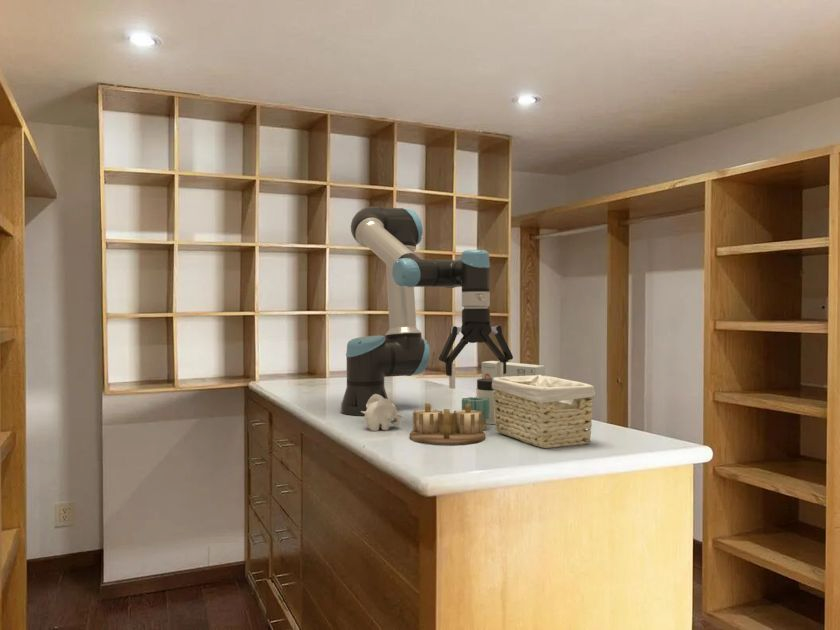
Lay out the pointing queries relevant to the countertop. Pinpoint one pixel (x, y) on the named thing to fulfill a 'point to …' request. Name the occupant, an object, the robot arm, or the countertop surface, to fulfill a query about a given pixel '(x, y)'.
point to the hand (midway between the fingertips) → (476, 387)
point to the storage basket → (544, 410)
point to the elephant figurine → (380, 413)
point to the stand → (484, 424)
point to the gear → (477, 405)
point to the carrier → (447, 426)
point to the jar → (487, 392)
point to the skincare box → (511, 369)
